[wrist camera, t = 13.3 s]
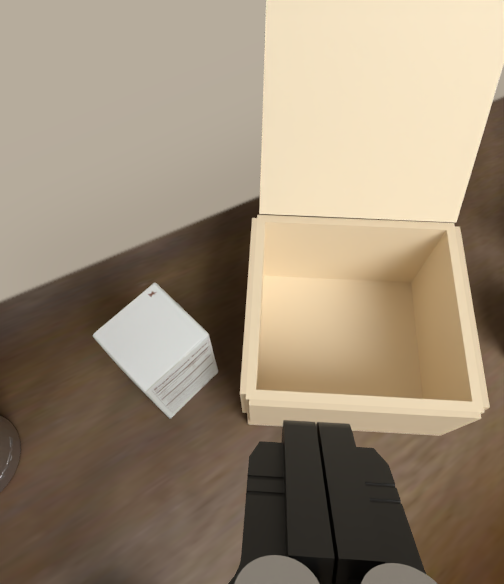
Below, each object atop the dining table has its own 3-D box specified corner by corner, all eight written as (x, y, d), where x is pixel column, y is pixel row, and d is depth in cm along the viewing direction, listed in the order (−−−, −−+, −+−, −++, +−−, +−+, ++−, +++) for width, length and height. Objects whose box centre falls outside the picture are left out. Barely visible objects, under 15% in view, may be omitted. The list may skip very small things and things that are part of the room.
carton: (242, 429, 48) (239, 404, 37) (253, 272, 56) (252, 214, 45) (437, 440, 47) (491, 419, 36) (419, 280, 55) (459, 223, 44)
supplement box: (126, 373, 50) (88, 332, 39) (177, 328, 52) (155, 278, 41) (169, 422, 48) (142, 394, 37) (221, 373, 50) (211, 332, 39)
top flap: (266, -13, 34) (267, -13, 34) (259, 213, 44) (259, 210, 44) (524, -6, 33) (520, -6, 34) (456, 222, 43) (454, 219, 44)
